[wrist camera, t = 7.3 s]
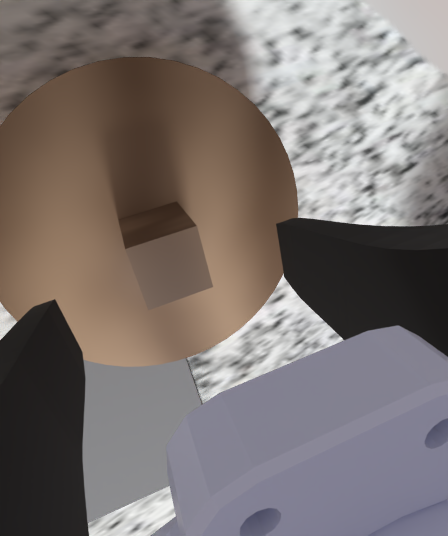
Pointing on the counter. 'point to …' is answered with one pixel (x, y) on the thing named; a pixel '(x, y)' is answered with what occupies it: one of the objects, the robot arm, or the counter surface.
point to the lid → (142, 208)
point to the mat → (131, 430)
